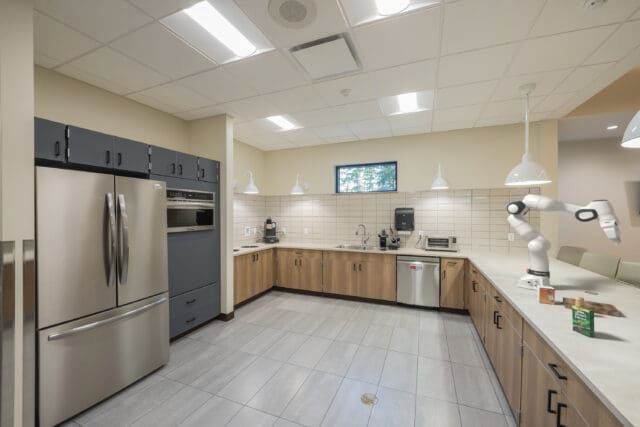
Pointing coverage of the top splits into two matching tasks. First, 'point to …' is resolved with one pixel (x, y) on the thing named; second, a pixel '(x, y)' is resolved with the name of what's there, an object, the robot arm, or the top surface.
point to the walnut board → (594, 307)
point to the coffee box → (583, 320)
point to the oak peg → (579, 301)
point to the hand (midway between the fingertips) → (618, 243)
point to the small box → (546, 295)
